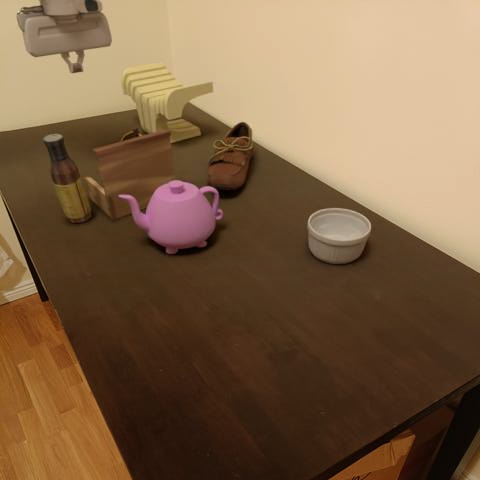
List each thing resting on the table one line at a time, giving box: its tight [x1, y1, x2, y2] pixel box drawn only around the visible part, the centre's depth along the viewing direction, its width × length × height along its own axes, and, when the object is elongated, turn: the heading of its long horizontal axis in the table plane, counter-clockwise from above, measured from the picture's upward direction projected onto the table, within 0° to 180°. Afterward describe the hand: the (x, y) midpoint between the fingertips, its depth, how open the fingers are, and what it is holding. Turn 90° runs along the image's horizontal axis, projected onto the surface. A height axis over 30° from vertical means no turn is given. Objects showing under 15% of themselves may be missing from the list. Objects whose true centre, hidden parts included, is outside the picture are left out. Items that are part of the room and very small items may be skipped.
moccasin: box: [205, 121, 254, 191], centre depth 117 cm, size 31×12×12 cm, turn 158°
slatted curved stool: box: [120, 61, 214, 144], centre depth 138 cm, size 30×16×18 cm, turn 37°
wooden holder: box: [84, 129, 176, 221], centre depth 106 cm, size 14×19×17 cm
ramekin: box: [306, 207, 372, 265], centre depth 92 cm, size 13×13×7 cm
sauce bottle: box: [43, 133, 93, 224], centre depth 98 cm, size 6×6×20 cm
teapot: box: [118, 179, 224, 255], centre depth 93 cm, size 22×16×14 cm
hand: (76, 72), depth 106 cm, fingers closed
